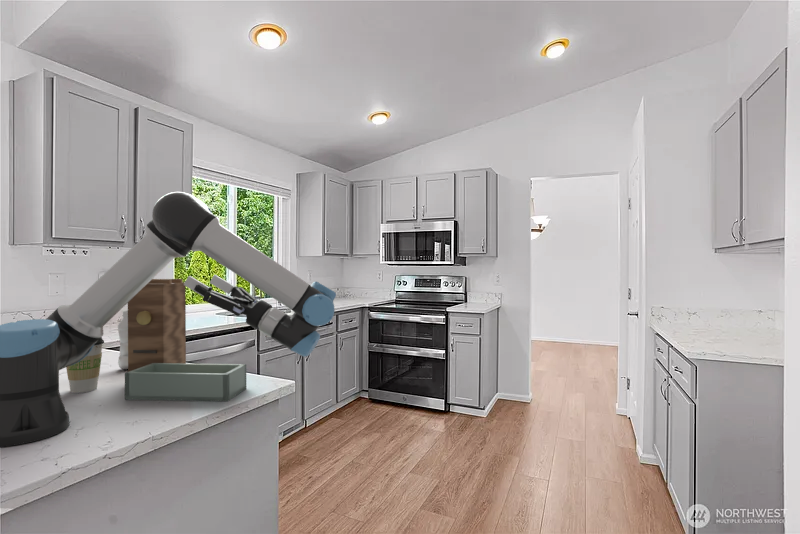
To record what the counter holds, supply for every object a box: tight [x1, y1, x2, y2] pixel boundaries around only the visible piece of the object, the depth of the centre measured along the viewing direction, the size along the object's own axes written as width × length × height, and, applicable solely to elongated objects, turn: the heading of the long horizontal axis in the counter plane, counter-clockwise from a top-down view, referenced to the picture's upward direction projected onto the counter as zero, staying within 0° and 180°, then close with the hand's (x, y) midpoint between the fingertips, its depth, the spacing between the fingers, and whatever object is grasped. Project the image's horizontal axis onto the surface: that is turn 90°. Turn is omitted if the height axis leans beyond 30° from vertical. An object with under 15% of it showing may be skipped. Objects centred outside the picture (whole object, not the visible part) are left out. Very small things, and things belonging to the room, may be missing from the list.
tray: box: [124, 362, 247, 402], centre depth 123 cm, size 12×28×7 cm, turn 86°
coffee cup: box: [65, 336, 105, 394], centre depth 127 cm, size 10×10×15 cm
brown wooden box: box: [127, 278, 187, 372], centre depth 138 cm, size 14×12×31 cm
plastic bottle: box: [117, 309, 128, 370], centre depth 152 cm, size 6×7×20 cm
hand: (200, 279), depth 122 cm, fingers open, 13 cm apart
